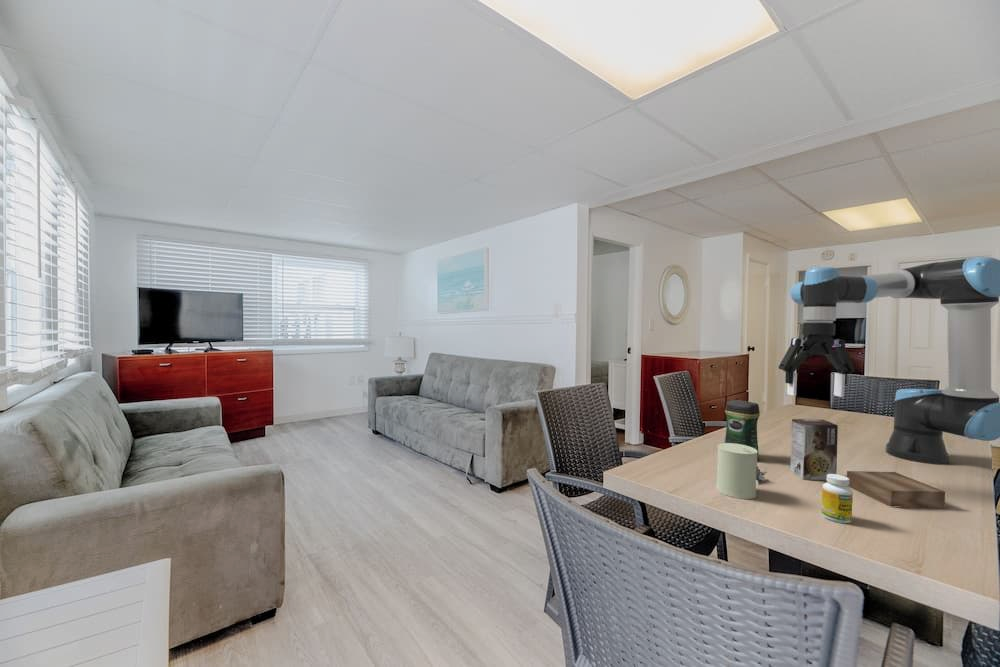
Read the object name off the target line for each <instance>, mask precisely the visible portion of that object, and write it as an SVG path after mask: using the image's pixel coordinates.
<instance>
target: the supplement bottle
mask: <svg viewBox="0 0 1000 667" xmlns="http://www.w3.org/2000/svg"><path fill="white" fill-rule="evenodd" d="M825 481H826V482H825V483H823V484H822V490H821V492H822V493H821V495H822V496H821V498H822V499H821V514H822V516H823V517H824V518H825V519H827V520H829V521H832V522H834V523H839V524H850V523H851V522H852V517H853V513H852V512H853V498H854V497H853V496H854V494H853V492H854V491H853V489H852V488H851V487H849V486H848V485H849V478H847V476H846V475H845V476H844V475H842V474H838V473H836V474H827V479H826V480H825Z"/></svg>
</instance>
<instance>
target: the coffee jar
mask: <svg viewBox="0 0 1000 667" xmlns="http://www.w3.org/2000/svg"><path fill="white" fill-rule="evenodd" d="M724 412H725V416H726V430H725V438H724V443H735V444H741V445H746V446H749V447H752V448H754V449H756V450H757V451H758V453H757V459H758V458H759V455H760V454H759V453H760V452H759V441H758V421H759V419H760V415H761V411H760V406H759V403H758V402H757V403H756V402H752V401H746V400H741V399H729V400H727V401H726V404H725V410H724Z"/></svg>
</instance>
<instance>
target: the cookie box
mask: <svg viewBox="0 0 1000 667" xmlns="http://www.w3.org/2000/svg"><path fill="white" fill-rule="evenodd" d="M838 427H839V425H838V424H835V423H833V422H831V421H828V420H826V419H814V418H813V419H808V418H792V419H791V438H790V439H791V445H790V447H791V448H790V473H792V474H793V475H795V476H797V477H798V478H800V479H801V480H806V481H807V480H813V481H827V480H826V479H827V474H837V468H838V465H837V464H838V463H837V462H838V430H839V428H838Z"/></svg>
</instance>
